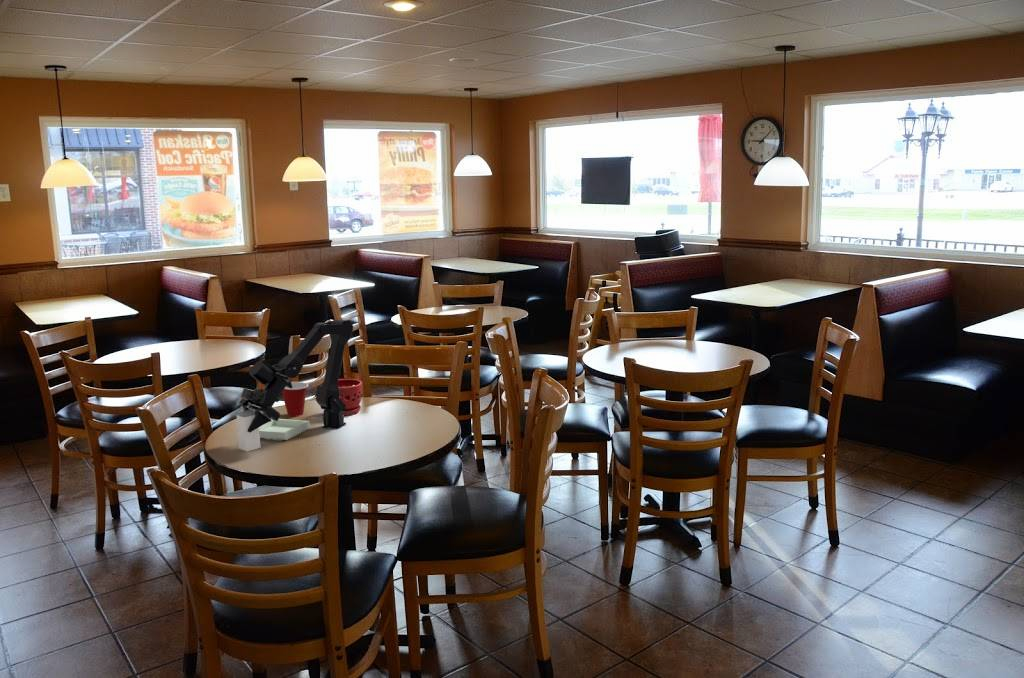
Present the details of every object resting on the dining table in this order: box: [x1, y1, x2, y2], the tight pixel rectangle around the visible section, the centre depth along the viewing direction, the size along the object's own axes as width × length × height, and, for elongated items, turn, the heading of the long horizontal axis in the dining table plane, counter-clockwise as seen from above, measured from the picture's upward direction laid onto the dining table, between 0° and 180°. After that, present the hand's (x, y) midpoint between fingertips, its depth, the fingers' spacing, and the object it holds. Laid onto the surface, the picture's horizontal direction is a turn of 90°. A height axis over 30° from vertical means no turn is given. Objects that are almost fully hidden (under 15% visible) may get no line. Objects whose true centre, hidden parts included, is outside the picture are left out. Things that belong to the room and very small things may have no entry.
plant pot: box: [338, 378, 363, 416], centre depth 319 cm, size 13×13×12 cm
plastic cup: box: [281, 381, 309, 417], centre depth 319 cm, size 11×11×12 cm
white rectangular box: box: [236, 410, 261, 452], centre depth 278 cm, size 5×5×12 cm
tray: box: [259, 418, 311, 441], centre depth 296 cm, size 15×15×3 cm
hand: (244, 430), depth 277 cm, fingers open, 5 cm apart
